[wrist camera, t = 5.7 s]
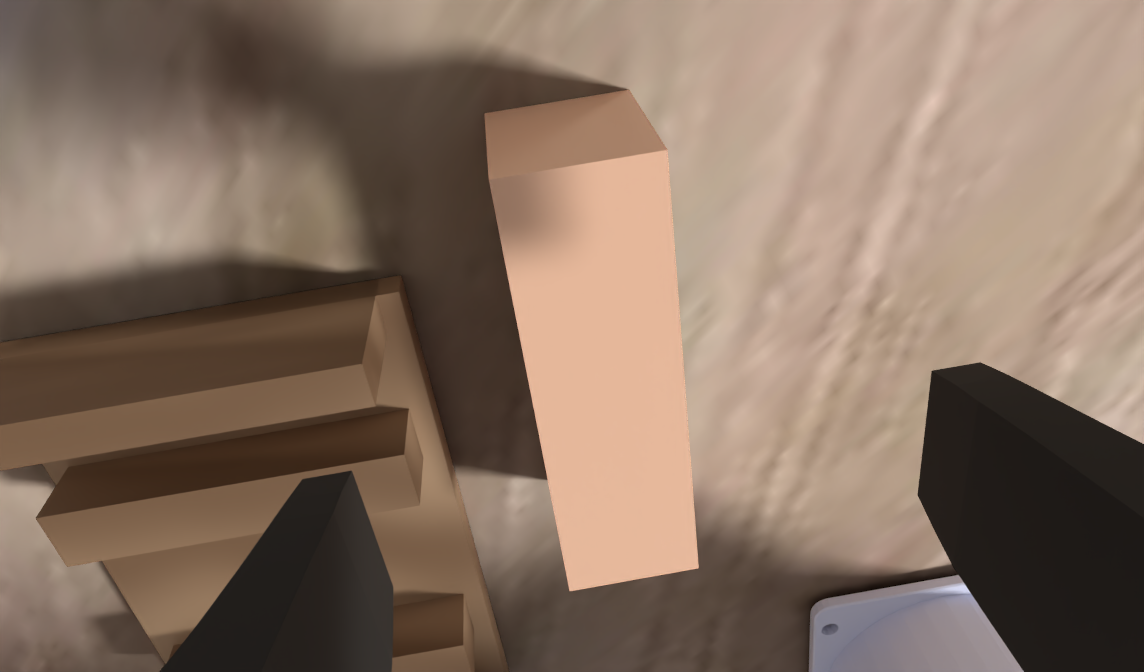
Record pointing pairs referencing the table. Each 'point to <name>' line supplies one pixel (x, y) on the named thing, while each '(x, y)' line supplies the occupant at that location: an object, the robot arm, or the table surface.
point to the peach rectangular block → (599, 329)
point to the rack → (249, 455)
